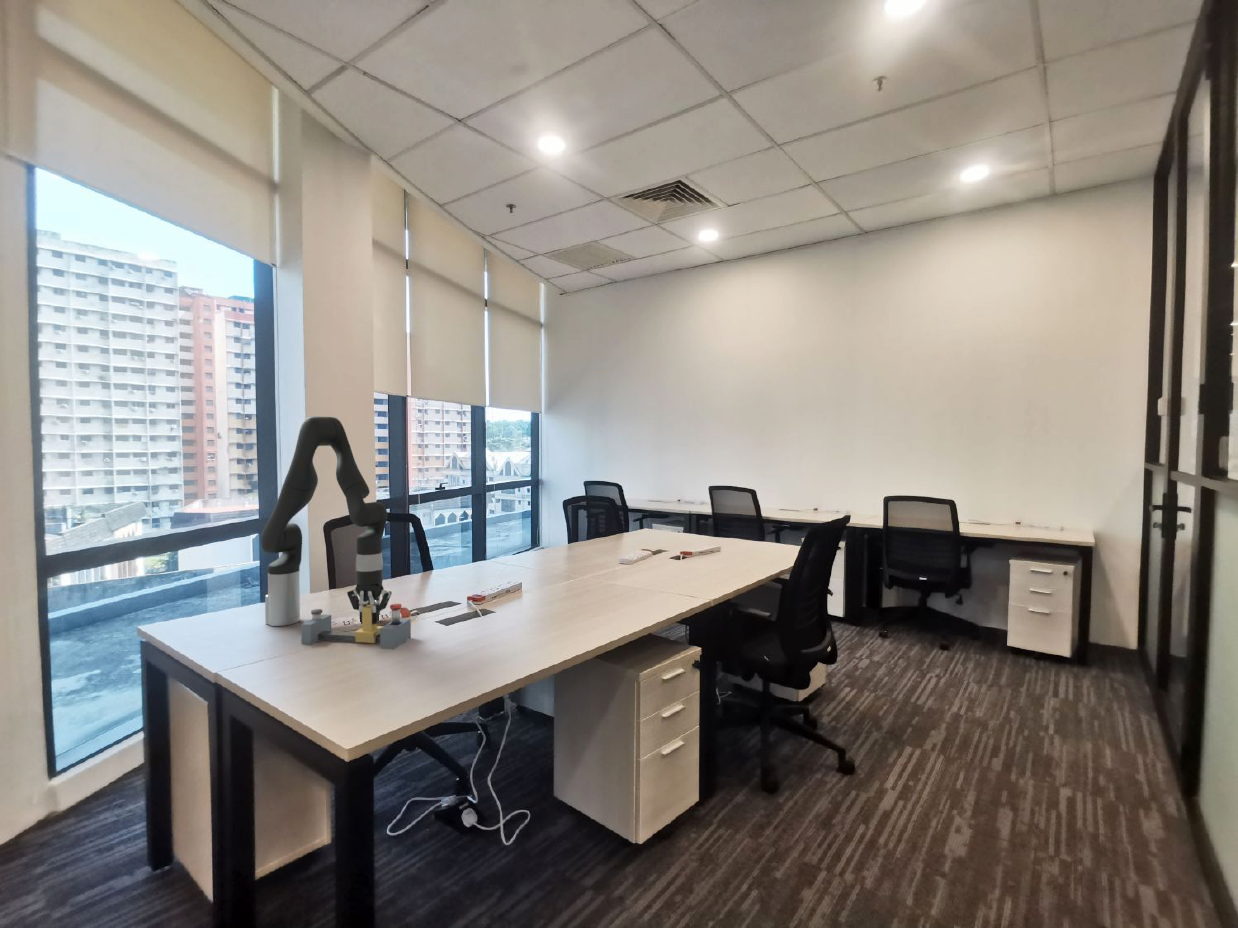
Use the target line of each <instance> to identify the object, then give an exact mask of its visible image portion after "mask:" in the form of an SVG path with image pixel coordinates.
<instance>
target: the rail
mask: <svg viewBox="0 0 1238 928" xmlns="http://www.w3.org/2000/svg"><path fill="white" fill-rule="evenodd" d="M318 641H325V642H339V643H341V642H343V643H357V644H358V643H359V644H361V643H362V644H368V643H367V642H356V637H355V631H354V632H352V631H338V630H337V631H335V630H331V631H323V632H321V633H319V634H318ZM373 644H376V645H377V644H379V645H380V634H379V635H377V636H376V642H375V643H373Z"/></svg>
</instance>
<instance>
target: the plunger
mask: <svg viewBox="0 0 1238 928" xmlns="http://www.w3.org/2000/svg"><path fill="white" fill-rule="evenodd" d="M389 608H390V610H391V622H392V625H399V624H400V618H401V609H402V604H401V603H392V604H390V605H389Z"/></svg>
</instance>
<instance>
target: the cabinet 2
mask: <svg viewBox="0 0 1238 928" xmlns="http://www.w3.org/2000/svg"><path fill="white" fill-rule="evenodd" d="M411 620H412V618H407V617H405V618H403V617H402V618H401V617H400V624H399V625H392V621H390V622H388V623H387V624H385V625H384V626H383V625H382V626H383V627H382V628H380V644H379V645H380V649H389V650H395V649H396V648H398V647H400V646H401V645H403V644H404V643H406V642H407V641H408V640H409V639H411V638H412V636H411V635H412V633H411V632H412V631H411V629H412V627H411V625H412V623H411V622H412V621H411Z"/></svg>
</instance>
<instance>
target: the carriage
mask: <svg viewBox="0 0 1238 928" xmlns="http://www.w3.org/2000/svg"><path fill="white" fill-rule="evenodd" d="M372 613H373V611H372V606H371V605H367V606H365V607H363V608H362V626H361V628H358V629H357V630H356V631H354V632H355V637H356V642H367V643H366V644H374V643H375V642H376V636H377V635H379V634H380V628H382V627H383V625H381V626H380V625H379V626H378V623H377V624H375V625H373V624H372ZM356 642H355V643H356Z"/></svg>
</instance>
